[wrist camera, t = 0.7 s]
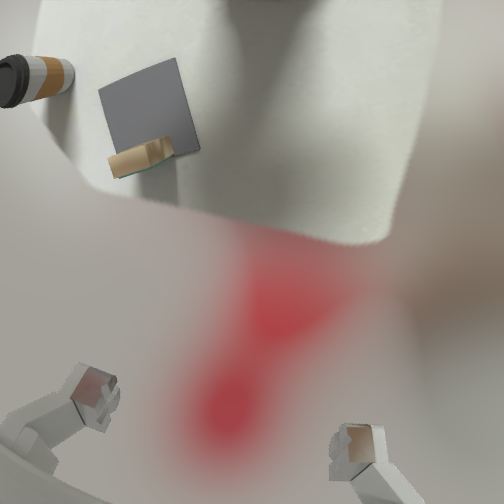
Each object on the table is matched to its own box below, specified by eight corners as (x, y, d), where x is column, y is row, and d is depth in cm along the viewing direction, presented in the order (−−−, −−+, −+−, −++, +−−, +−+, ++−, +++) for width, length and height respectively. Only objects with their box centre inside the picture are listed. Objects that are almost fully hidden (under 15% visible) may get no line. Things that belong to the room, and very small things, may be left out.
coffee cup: (63, 45, 38) (3, 44, 25) (88, 71, 41) (27, 74, 28) (40, 81, 42) (-20, 90, 28) (62, 107, 44) (2, 121, 31)
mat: (99, 89, 42) (98, 90, 42) (175, 57, 39) (174, 57, 39) (124, 171, 49) (122, 172, 48) (200, 148, 46) (199, 149, 45)
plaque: (136, 145, 46) (107, 158, 38) (169, 134, 45) (144, 145, 37) (142, 164, 47) (114, 180, 40) (175, 154, 46) (151, 168, 38)
